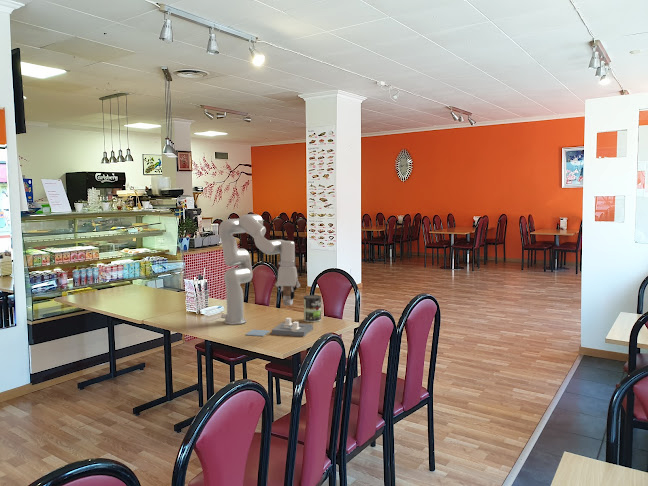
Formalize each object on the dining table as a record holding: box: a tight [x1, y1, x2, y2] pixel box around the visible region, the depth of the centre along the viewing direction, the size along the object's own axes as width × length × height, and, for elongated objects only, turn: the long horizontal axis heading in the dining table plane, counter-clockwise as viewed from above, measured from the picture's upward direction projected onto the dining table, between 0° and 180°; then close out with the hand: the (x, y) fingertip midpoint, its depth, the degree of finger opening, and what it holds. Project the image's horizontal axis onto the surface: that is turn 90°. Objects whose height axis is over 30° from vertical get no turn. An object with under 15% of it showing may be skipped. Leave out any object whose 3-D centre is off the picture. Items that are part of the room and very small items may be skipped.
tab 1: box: [284, 317, 293, 326], centre depth 278 cm, size 4×4×4 cm
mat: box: [244, 329, 271, 337], centre depth 272 cm, size 10×10×1 cm
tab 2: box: [291, 321, 301, 330], centre depth 270 cm, size 4×4×4 cm
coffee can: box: [303, 294, 322, 323], centre depth 299 cm, size 10×10×14 cm
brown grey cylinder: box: [282, 286, 294, 306], centre depth 269 cm, size 4×4×10 cm
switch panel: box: [271, 322, 314, 337], centre depth 275 cm, size 18×16×3 cm
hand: (288, 298), depth 269 cm, fingers closed on brown grey cylinder, 4 cm apart
